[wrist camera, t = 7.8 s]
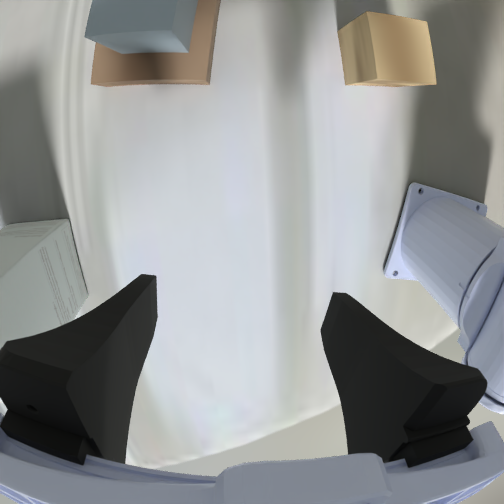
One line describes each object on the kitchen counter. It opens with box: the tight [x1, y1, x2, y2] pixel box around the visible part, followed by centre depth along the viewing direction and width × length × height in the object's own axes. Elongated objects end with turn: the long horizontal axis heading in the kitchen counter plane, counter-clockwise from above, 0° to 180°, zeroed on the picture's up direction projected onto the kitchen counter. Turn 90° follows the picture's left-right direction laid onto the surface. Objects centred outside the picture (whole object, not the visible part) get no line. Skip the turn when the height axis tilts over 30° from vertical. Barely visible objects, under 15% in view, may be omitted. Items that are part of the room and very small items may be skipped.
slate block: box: [85, 0, 198, 54], centre depth 11 cm, size 4×4×5 cm
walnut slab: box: [91, 0, 221, 87], centre depth 14 cm, size 7×7×3 cm
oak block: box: [337, 11, 437, 87], centre depth 14 cm, size 4×4×5 cm
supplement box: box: [0, 219, 88, 404], centre depth 16 cm, size 7×7×13 cm
